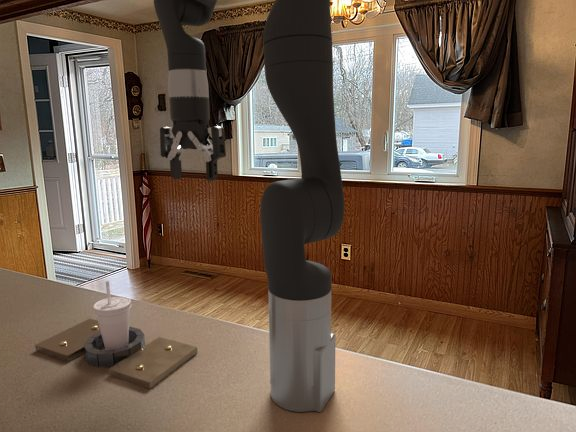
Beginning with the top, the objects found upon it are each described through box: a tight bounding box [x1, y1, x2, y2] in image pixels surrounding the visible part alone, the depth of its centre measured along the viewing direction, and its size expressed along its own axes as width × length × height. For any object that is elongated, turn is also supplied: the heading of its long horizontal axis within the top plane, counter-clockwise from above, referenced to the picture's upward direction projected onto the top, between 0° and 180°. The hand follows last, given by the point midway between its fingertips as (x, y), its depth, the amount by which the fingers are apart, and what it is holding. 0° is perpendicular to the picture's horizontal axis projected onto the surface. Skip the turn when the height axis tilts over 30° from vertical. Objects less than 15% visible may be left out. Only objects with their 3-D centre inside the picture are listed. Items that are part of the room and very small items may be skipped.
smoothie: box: [92, 280, 133, 350], centre depth 77 cm, size 6×6×14 cm
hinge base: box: [34, 318, 198, 390], centre depth 78 cm, size 28×12×2 cm, turn 64°
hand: (193, 179), depth 85 cm, fingers open, 8 cm apart
